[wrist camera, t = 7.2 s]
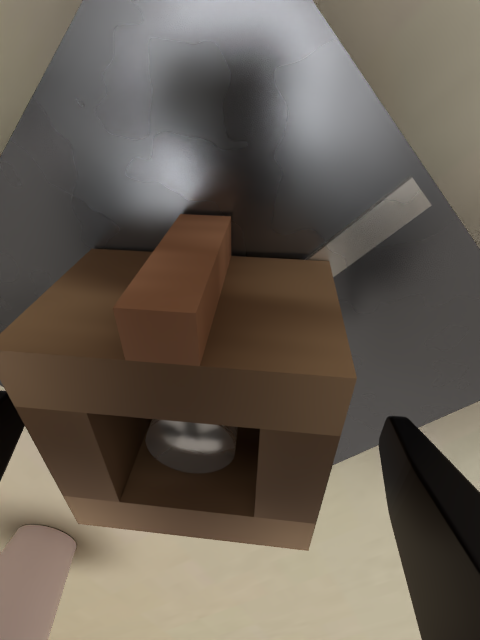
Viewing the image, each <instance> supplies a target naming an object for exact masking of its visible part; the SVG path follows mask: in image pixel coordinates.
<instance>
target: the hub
mask: <svg viewBox="0 0 480 640" xmlns="http://www.w3.org/2000/svg"><path fill="white" fill-rule="evenodd" d="M180 214H191V215H213V216H231V256H241V257H260V258H279V259H297V260H316V261H329V262H330V266H331V270H332V274H333V279H334V283H335V287H336V291H337V296H338V300H339V304H340V308H341V313H342V317H343V321H344V326H345V330H346V334H347V338H348V343H349V347H350V351H351V355H352V360H353V364H354V368H355V372H356V377H357V380H356V384H355V387H354V391H353V394H352V398H351V401H350V405H349V408H348V412H347V415H346V419H345V422H344V426H343V430H342V433H341V437H340V440H339V444H338V447H337V451H336V454H335V458H334V461H333V465H334V464H336V463H339V462H341V461H343V460H346V459H348V458H350V457H352V456H355V455H357V454H359V453H361V452H364V451H366V450H368V449H371V448H373V447H375V446H377V445H379V437H380V434H381V431H382V429H383V426H384V423H385V420H386V418H387V417H388V416H404V417H407V418H408V419H409V420H411V422H412V423H413V424H414V425H415V426H416V427H417V428H418V427H421V426H423V425H425V424H427V423H430V422H432V421H434V420H437V419H439V418H441V417H443V416H446V415H448V414H450V413H453V412H455V411H457V410H459V409H462V408H464V407H466V406H468V405H471V404H473V403H475V402H478V401H480V249H479V248H478V246H477V245H476V243H475V242H474V240H473V239H472V237H471V236H470V234H469V233H468V231H467V230H466V228H465V227H464V225H463V224H462V222H461V221H460V219H459V218H458V216H457V215H456V213H455V212H454V210H453V209H452V207H451V206H450V204H449V203H448V201H447V200H446V198H445V197H444V195H443V194H442V192H441V191H440V189H439V188H438V187H437V185H436V184H435V182H434V181H433V179H432V178H431V176H430V175H429V173H428V172H427V170H426V169H425V167H424V166H423V164H422V163H421V161H420V160H419V158H418V157H417V155H416V154H415V152H414V151H413V149H412V148H411V146H410V145H409V143H408V142H407V140H406V139H405V137H404V136H403V134H402V133H401V131H400V130H399V128H398V127H397V126H396V124H395V123H394V121H393V120H392V118H391V117H390V115H389V114H388V112H387V111H386V109H385V108H384V106H383V105H382V103H381V102H380V100H379V99H378V97H377V96H376V94H375V93H374V91H373V90H372V88H371V87H370V85H369V84H368V82H367V81H366V79H365V78H364V76H363V75H362V73H361V72H360V70H359V69H358V67H357V66H356V64H355V63H354V62H353V60H352V59H351V57H350V56H349V54H348V53H347V51H346V50H345V48H344V47H343V45H342V44H341V42H340V41H339V39H338V38H337V36H336V35H335V33H334V32H333V30H332V29H331V27H330V26H329V24H328V23H327V21H326V20H325V18H324V17H323V15H322V14H321V12H320V11H319V9H318V8H317V6H316V5H315V3H314V2H313V1H312V0H83V1H82V3H81V5H80V7H79V9H78V11H77V13H76V14H75V16H74V18H73V20H72V22H71V24H70V26H69V28H68V30H67V31H66V33H65V35H64V37H63V39H62V41H61V43H60V45H59V47H58V49H57V50H56V52H55V54H54V56H53V58H52V60H51V62H50V64H49V66H48V67H47V69H46V71H45V73H44V75H43V77H42V79H41V81H40V83H39V85H38V86H37V88H36V90H35V92H34V94H33V96H32V98H31V100H30V102H29V103H28V105H27V107H26V109H25V111H24V113H23V115H22V117H21V119H20V121H19V122H18V124H17V126H16V128H15V130H14V132H13V134H12V136H11V138H10V140H9V141H8V143H7V145H6V147H5V149H4V151H3V153H2V155H1V157H0V333H1V332H3V331H4V330H5V329H6V328H7V327H8V326H9V325H10V324H11V323H12V322H13V321H14V320H15V319H17V318H18V317H19V316H20V315H21V314H22V313H23V312H24V311H25V310H26V309H27V308H28V307H29V306H31V305H32V304H33V303H34V302H35V301H36V300H37V299H38V298H39V297H40V296H41V295H42V294H43V293H45V292H46V291H47V290H48V289H49V288H50V287H51V286H52V285H53V284H54V283H55V282H56V281H57V280H59V279H60V278H61V277H62V276H63V275H64V274H65V273H66V272H67V271H68V270H69V269H70V268H71V267H73V266H74V265H75V264H76V263H77V262H78V261H79V260H80V259H81V258H82V257H83V256H84V255H85V254H87V253H88V252H89V251H90V250H91V249H109V250H128V251H147V252H153V251H154V250H155V248H156V247H157V246H158V244H159V243H160V241H161V240H162V239H163V237H164V236H165V234H166V233H167V232H168V230H169V229H170V228H171V226H172V225H173V223H174V222H175V221H176V219H177V218H178V216H179V215H180ZM0 385H1V386H3V384H2V382H1V381H0ZM3 387H4V386H3ZM237 429H238V427H234V426H223V425H212V424H201V423H190V422H179V421H168V420H157V419H152V421H151V423H150V426H149V429H148V432H147V435H146V445H147V448H148V450H149V452H150V453H151V454H152V455H153V457H154V458H156V459H157V460H158V461H159V462H161V463H162V464H164V465H166V466H168V467H170V468H172V469H175V470H178V471H182V472H187V473H198V474H201V473H210V472H215V471H218V470H220V469H223V468H224V467H226V466H227V465H228V464H230V462H231V461H232V460H233V458H234V455H235V448H236V439H237Z"/></svg>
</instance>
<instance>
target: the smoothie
mask: <svg viewBox="0 0 480 640" xmlns="http://www.w3.org/2000/svg"><path fill="white" fill-rule="evenodd" d="M75 549H76V542H75V541H74V540H73V539H72V538H71V537H70V536H69V535H67V534H65V533H64V532H61V531H59V530H57V529H54V528H51V527H47V526H41V525H24V526H21V527H19V528H18V529H17V531H16V532H15V534H14V535H13V536H12V538H11V539H10V541H9V542H8V543H7V545H6V546H5V548H4V549H3V551H2V552H1V553H0V640H48V638H49V634H50V631H51V628H52V625H53V621H54V618H55V615H56V612H57V608H58V605H59V602H60V598H61V595H62V592H63V589H64V585H65V582H66V579H67V576H68V572H69V569H70V566H71V563H72V559H73V556H74V553H75Z"/></svg>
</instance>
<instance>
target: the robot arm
mask: <svg viewBox="0 0 480 640" xmlns="http://www.w3.org/2000/svg"><path fill="white" fill-rule="evenodd" d="M24 426H25V425H24V423H23V421H22V419H21V417H20V416H19V414H18V412H17V410H16V408H15V406H14V405H13V403H12V401H11V399H10V397H9V395H8V394H7V392H6V391H0V481H1V479H2V476H3V474H4V472H5V470H6V468H7V465H8V463H9V461H10V458H11V456H12V454H13V452H14V449H15V447H16V445H17V442H18V440H19V438H20V435H21V433H22V431H23V429H24ZM379 451H380V458H381V465H382V472H383V478H384V485H385V492H386V498H387V505H388V510H389V515H390V520H391V524H392V528H393V532H394V535H395V539H396V543H397V547H398V551H399V554H400V558H401V562H402V566H403V570H404V574H405V577H406V581H407V585H408V589H409V593H410V596H411V600H412V604H413V608H414V612H415V615H416V619H417V623H418V627H419V631H420V635H421V638H422V640H480V492H479V491H478V490H477V489H476V488H475V487H474V486H473V485H472V484H471V483H470V482H469V481H468V480H467V479H466V478H465V477H464V475H463V474H462V473H461V472H460V471H459V470H458V469H457V468H456V467H455V466H454V465H453V464H452V463H451V462H450V461H449V460H448V459H447V458H446V457H445V456H444V455H443V454H442V453H441V452H440V451H439V450H438V449H437V447H436V446H435V445H434V444H433V443H432V442H431V441H430V440H429V439H428V438H427V437H426V436H425V435H424V434H423V433H422V432H421V431H420V430H419V429H418V428H417V427H416V426H415V425H414V424H413V423H412V422H411V420H409V419H408V418H407V417H404V416H388V417H387V418H386V420H385V423H384V426H383V429H382V431H381V434H380V437H379Z"/></svg>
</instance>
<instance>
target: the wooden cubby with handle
mask: <svg viewBox="0 0 480 640" xmlns="http://www.w3.org/2000/svg"><path fill="white" fill-rule="evenodd" d="M356 380H357V377H356V372H355V368H354V364H353V360H352V355H351V351H350V347H349V343H348V338H347V334H346V330H345V326H344V321H343V317H342V313H341V308H340V304H339V300H338V296H337V291H336V287H335V283H334V279H333V274H332V270H331V266H330V262H329V261H316V260H297V259H279V258H260V257H241V256H231V216H213V215H191V214H180V215H179V216H178V218H177V219H176V221H175V222H174V223H173V225H172V226H171V228H170V229H169V230H168V232H167V233H166V234H165V236H164V237H163V239H162V240H161V241H160V243H159V244H158V246H157V247H156V248H155V250H154V251H153V252H147V251H128V250H109V249H91V250H90V251H89V252H88V253H87V254H85V255H84V256H83V257H82V258H81V259H80V260H79V261H78V262H77V263H76V264H75V265H74V266H73V267H71V268H70V269H69V270H68V271H67V272H66V273H65V274H64V275H63V276H62V277H61V278H60V279H59V280H57V281H56V282H55V283H54V284H53V285H52V286H51V287H50V288H49V289H48V290H47V291H46V292H45V293H43V294H42V295H41V296H40V297H39V298H38V299H37V300H36V301H35V302H34V303H33V304H32V305H31V306H29V307H28V308H27V309H26V310H25V311H24V312H23V313H22V314H21V315H20V316H19V317H18V318H17V319H15V320H14V321H13V322H12V323H11V324H10V325H9V326H8V327H7V328H6V329H5V330H4V331H3V332H1V333H0V381H1V382H2V384H3V386H4V388H5V390H6V392H7V394H8V395H9V397H10V399H11V401H12V403H13V405H14V406H15V408H16V410H17V412H18V414H19V416H20V417H21V419H22V421H23V423H24V425H25V427H26V429H27V430H28V432H29V434H30V436H31V438H32V440H33V441H34V443H35V445H36V447H37V449H38V451H39V453H40V454H41V456H42V458H43V460H44V462H45V464H46V465H47V467H48V469H49V471H50V473H51V475H52V476H53V478H54V480H55V482H56V484H57V486H58V488H59V489H60V491H61V493H62V495H63V497H64V499H65V500H66V502H67V504H68V506H69V508H70V510H71V512H72V513H73V515H74V517H75V519H76V521H77V523H78V524H85V525H93V526H102V527H111V528H119V529H128V530H136V531H145V532H153V533H162V534H170V535H179V536H187V537H196V538H204V539H213V540H222V541H230V542H239V543H247V544H256V545H264V546H273V547H281V548H290V549H298V550H307V551H308V550H309V546H310V543H311V539H312V536H313V532H314V529H315V525H316V522H317V518H318V515H319V511H320V507H321V504H322V500H323V497H324V493H325V490H326V486H327V483H328V479H329V476H330V472H331V469H332V465H333V461H334V458H335V454H336V451H337V447H338V444H339V440H340V437H341V433H342V430H343V426H344V422H345V419H346V415H347V412H348V408H349V405H350V401H351V398H352V394H353V391H354V387H355V384H356ZM152 419H157V420H168V421H179V422H190V423H201V424H212V425H223V426H234V427H238V429H237V439H236V448H235V455H234V458H233V460H232V461H231V462H230V464H228V465H227V466H226V467H224V468H223V469H220V470H218V471H215V472H210V473H201V474H198V473H187V472H182V471H178V470H175V469H172V468H170V467H168V466H166V465H164V464H162V463H161V462H159V461H158V460H157V459H156V458H154V457H153V455H152V454H151V453H150V452H149V450H148V448H147V445H146V435H147V432H148V429H149V426H150V423H151V421H152Z"/></svg>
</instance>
